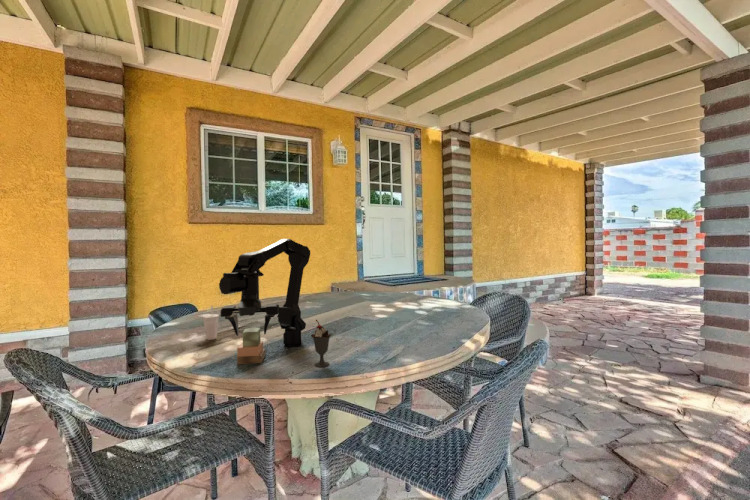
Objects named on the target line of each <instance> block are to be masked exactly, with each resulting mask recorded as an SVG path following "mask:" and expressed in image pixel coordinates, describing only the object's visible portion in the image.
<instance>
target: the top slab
mask: <svg viewBox="0 0 750 500" xmlns="http://www.w3.org/2000/svg"><path fill="white" fill-rule="evenodd" d="M263 349H264V341H263V340H261V342H260V344H259V345H258V346H248V347H243V341H242V342H241V344H239V345H238V346H237V348H236V350H237V351H236V352H237V356H236V358H237V357H242V356H259V355H260V353H261V352H262V350H263Z"/></svg>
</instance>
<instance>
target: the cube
mask: <svg viewBox="0 0 750 500" xmlns="http://www.w3.org/2000/svg"><path fill="white" fill-rule="evenodd" d="M261 338H262V337H261V327H254V328H253V327H251V328H249V327H248V328H245V329H244V330H243V331H242V342H243V347H248V346H258V345H259V344H260V342H261V341H262V340H261Z"/></svg>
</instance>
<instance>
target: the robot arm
mask: <svg viewBox="0 0 750 500" xmlns="http://www.w3.org/2000/svg"><path fill="white" fill-rule="evenodd" d="M283 253H284V254H285V255H287V256H288V262H289V263H288V264H289V265H290V272H289V278H288V283H287V289H286V290H287V292H286V297H285V301H284V304H283V305H282V306H280V305H279V304H278V303H270V304H269V303H268V304H267V305H266V306H262V301H261V299H260V285H259V284H260V281H259V280H260V278H259V277H264V275H265V274H264V273H263V272H262V271H260V269H261V268H262V267H264V266H265V265H266V262H268V261H269V260H271V259H273V258H274V257H277V256H278V255H280V254H283ZM310 257H311V250H310V248H309V247H308V246H307V245H303V244H301V243H299V242H296V241H295V240H293V239H291V238H281V239H279V240H278V241H276V242H274V243H272V244H270V245H268V246H266V247H264V248H261V249H259V250H257V251H251V252H245V253H241V254H240V255H239V256H238V259H237V262H236V264H235V265H234V267H233V268H232V270H231V272H224V273H222V277H221V278H220V280H219V283H218V287H219V290H220V291H219V292H221V293H222V294H223V295H230V294H235V293H240V294H241V298H240V302H239V304H238V307H237V305H225V306H223V307H222V308H221V310H220V317H222V318H223V317H224V319H225V320H228V322H230V324H231V325H232V328H233V330H234V334H235V335H236V336H237V337H238V336H239V318H238V315H239V316H241V317H244V316H249V317H251V316H254V315H255V314H256V313H258V314H259V313H265V316H264V327H263V334H264V335H266V334H267V331H268V328H269V325H270V321H271V319H272V318H274V317H275V316H276V315H277V316H276V318H277V322H278V323H279V326H280V329H281V330H284V332H283V335H282V336H283V338H282V339H283V344H284V347H285V348H288V347H301V346H302V344H303V340H302V332H303V331H304V330H306V326H307V323H306V322H305V320H303V318H302V317H301V315H302V311H301V309H300V305H299V301H300V294H301V287H302V281H303V273H304V269H305V267H306V266H307V265H308V264H309V261H310Z"/></svg>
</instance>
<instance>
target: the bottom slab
mask: <svg viewBox="0 0 750 500" xmlns="http://www.w3.org/2000/svg"><path fill="white" fill-rule="evenodd" d="M265 356H266V348H263V350H262V352H261V353H260V355H259V356H242V357H237V356H236V365H246V364H247V365H250V364H262V363H263V360H264V359H265Z"/></svg>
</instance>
